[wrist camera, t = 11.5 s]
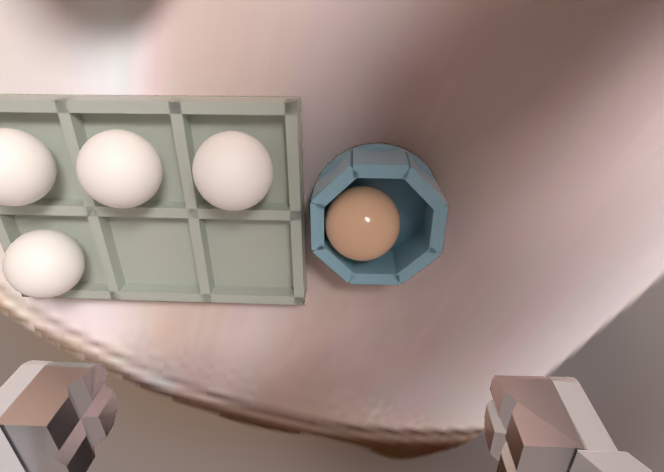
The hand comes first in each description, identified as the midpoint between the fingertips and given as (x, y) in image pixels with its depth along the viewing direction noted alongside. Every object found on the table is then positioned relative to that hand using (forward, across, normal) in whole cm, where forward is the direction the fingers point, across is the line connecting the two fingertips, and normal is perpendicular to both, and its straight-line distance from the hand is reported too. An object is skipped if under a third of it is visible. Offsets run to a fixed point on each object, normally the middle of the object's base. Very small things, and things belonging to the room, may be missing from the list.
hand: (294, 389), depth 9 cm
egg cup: (+20, -2, +5) cm, 21 cm away
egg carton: (+20, +13, +5) cm, 24 cm away
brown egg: (+20, -2, +5) cm, 20 cm away
